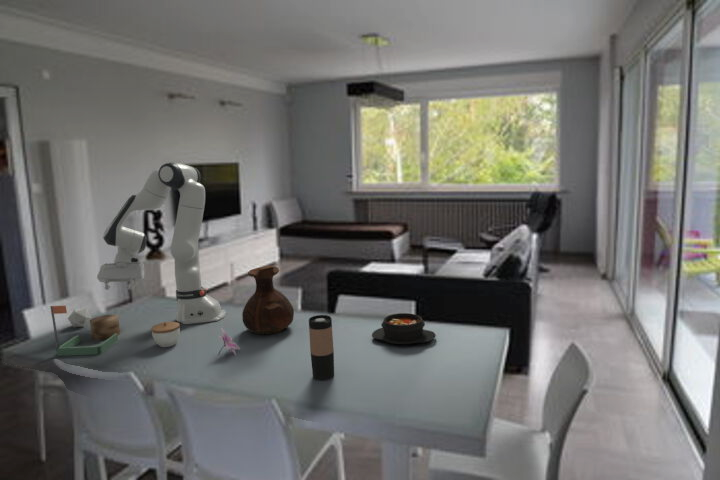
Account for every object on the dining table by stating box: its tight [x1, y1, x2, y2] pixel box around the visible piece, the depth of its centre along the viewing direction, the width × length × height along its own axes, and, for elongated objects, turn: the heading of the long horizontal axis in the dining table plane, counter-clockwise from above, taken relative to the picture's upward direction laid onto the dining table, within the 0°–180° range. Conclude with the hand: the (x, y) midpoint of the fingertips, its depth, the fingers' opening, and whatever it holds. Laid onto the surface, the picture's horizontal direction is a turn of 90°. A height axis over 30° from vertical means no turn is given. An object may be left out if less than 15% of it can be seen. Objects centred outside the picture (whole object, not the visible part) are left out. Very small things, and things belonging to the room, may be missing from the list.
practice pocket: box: [49, 305, 119, 357], centre depth 202 cm, size 17×14×20 cm
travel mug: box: [308, 314, 335, 382], centre depth 166 cm, size 8×8×20 cm
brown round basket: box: [89, 314, 121, 341], centre depth 217 cm, size 11×11×8 cm
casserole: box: [371, 312, 437, 345], centre depth 197 cm, size 25×19×8 cm
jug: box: [241, 265, 295, 335], centre depth 212 cm, size 22×22×30 cm
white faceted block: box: [67, 308, 92, 328], centre depth 231 cm, size 8×9×10 cm
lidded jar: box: [150, 321, 181, 348], centre depth 203 cm, size 11×11×9 cm
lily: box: [217, 327, 241, 356], centre depth 191 cm, size 11×11×9 cm
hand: (117, 288), depth 230 cm, fingers open, 8 cm apart
